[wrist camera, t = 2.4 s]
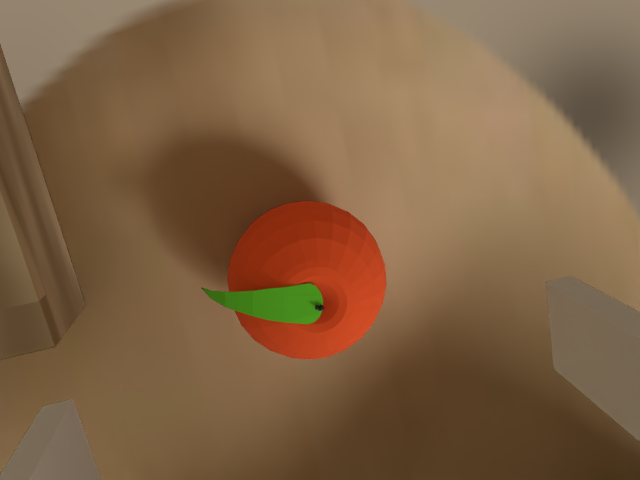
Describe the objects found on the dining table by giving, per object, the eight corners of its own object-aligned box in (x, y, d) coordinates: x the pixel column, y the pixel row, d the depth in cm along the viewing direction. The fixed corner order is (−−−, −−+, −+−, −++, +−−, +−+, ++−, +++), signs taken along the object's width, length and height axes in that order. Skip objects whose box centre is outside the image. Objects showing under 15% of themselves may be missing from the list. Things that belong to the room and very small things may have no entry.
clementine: (208, 326, 28) (199, 397, 22) (204, 189, 27) (194, 219, 20) (363, 321, 30) (402, 387, 23) (369, 189, 28) (412, 217, 21)
